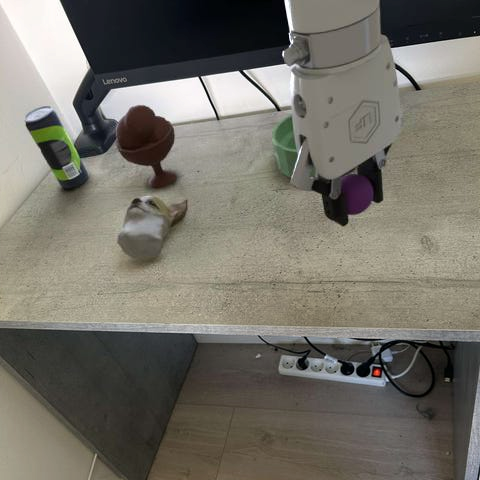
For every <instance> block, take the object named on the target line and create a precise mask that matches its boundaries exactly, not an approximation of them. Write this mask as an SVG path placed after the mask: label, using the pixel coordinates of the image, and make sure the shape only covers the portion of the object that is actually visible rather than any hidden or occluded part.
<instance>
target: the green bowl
mask: <svg viewBox="0 0 480 480" xmlns="http://www.w3.org/2000/svg"><path fill="white" fill-rule="evenodd" d="M271 141H272V145H273V150H274V151H273V152H274V155H275V160H276V165H277V168H278V169H279V171H280V172H281V174H283V175H284V176H286V177H288V178H290V179H291V178H292V175H293V172H294V169H295V165H296V162H297V159H298V154H297V149H296V143H295V137H294V130H293V121H292V113H291V114H289V115H287V116H286V117H284V118H283V119H282V120H280V121H279V122H278V123H277V124H276V125H275V127H274V129H273V130H272V131H271ZM310 176H313V177H315V166H314V165H313V168H312V171H311V175H310Z"/></svg>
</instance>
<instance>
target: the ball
mask: <svg viewBox="0 0 480 480" xmlns="http://www.w3.org/2000/svg"><path fill="white" fill-rule="evenodd" d="M340 192H341V193H343V194H344V195H345V196H346V203H347V211H348V216H356V215H359V214H362V213H364V212H365V211H366V210H367V209H368V208H369V207H370V206H371V204H372V202H373V201H372V199H373V187H372V185H371V183H370V181H369V180H368V179H367V178H366V177H364V176H362V175H359V174H358V173H349V174H346V175H344V176H341V190H340Z"/></svg>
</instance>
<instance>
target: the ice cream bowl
mask: <svg viewBox="0 0 480 480" xmlns="http://www.w3.org/2000/svg"><path fill="white" fill-rule="evenodd" d="M115 136H116V140H115V142H114V144H115V146H116V149H117V151H118V152H119V154H120V155H121V157H123V159H124V160H125V161H127V162H128V163H131V164H134V165H137V166H138V165H139V166H143V167H151V168H152V170H153V174H152V175H151V176H150V178H149V179H148V185H149V187H150V188H151V189H155V190H158V189H163V188H166V187H168V186H170V185H171V184H173V183H174V181H175V179H176V178H177V176H176V174H175V173H174V171H172V170H168V169H163V167H162V164H161V162H163V161H164V160H165V159H166V158H167V156H168V155H169V153H170V152H171V150H172V148H173V146H174V144H175V140H176V139H175V138H176V135H175V127H174V126H173V125H172V123H171V122H170V121H169V120H167V119H166V118H165V117H163V116H160V115H156V113H155V111H154V110H153V109H152V108H150V106H147V105H144V104H137V105H133V106H131V107H129V109H128V111H127V112H126V113H125V115H123V116H122V117H121V118H120V119H119V120H118V122H117V124H116V127H115Z"/></svg>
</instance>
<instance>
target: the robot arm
mask: <svg viewBox="0 0 480 480" xmlns="http://www.w3.org/2000/svg"><path fill="white" fill-rule="evenodd" d="M283 1H284V5H285V10H286V11H285V12H286V18H287V22H288V30H289V32H288V35H289V41H290V45H288V48H286V49H284V50H283V51H282V59H283V61H284V64H285V65H286V66H288V67H291V66H293V67H292V68H291V70H290V107H291V114H292V121H293V130H294V137H295V143H296V149H297V154H298V159H297V162H296V165H295V169H294V172H293V175H292V178H290V186H291V187H293V188H295V189H296V190H299V191H304V192H314V193H317V194H319V195H320V196H321V201H322V207H323V213H324V215H325V217H326V218H327V219H328V220H330V221H332V222H334V223H336V224H338V225H339V226H341V227H345V226H347V225H348V224H349V221H350V219H349V215H348V211H347V203H346V196H345V195H344V194H343V193H341V192H340V190H341V178H342V177H343V175H345V174H346V173H348V172H350V171H352V170H353V169H355V168H356V172H357V173H356V174H359V175H362V176H364V177H366V178H367V179H368V180H369V181H370V183H371V185H372V187H373V199H372V202H373V203H374V204H381V203H382V202H383V201H384V190H383V172H382V170H383V169H384V168H385V167H386V166H387V160H388V159H387V154H388V152H390V151H389V150H390V149H391V147H392V145H393V143H394V142H395V141H396V140H397V139H398V137H399V135H400V134H401V129H402V127H403V125H404V119H403V117H402V115H401V101H400V90H399V84H398V83H399V82H398V75H397V69H396V63H395V60H394V55H393V51H392V47H391V44H390V41H389V37H387V36H386V35H384V34H382V27H381V25H382V24H381V8H380V7H381V5H380V0H283ZM294 65H295V66H294ZM313 165H314V166H315V177H313V176H310V175H311V171H312V168H313Z"/></svg>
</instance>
